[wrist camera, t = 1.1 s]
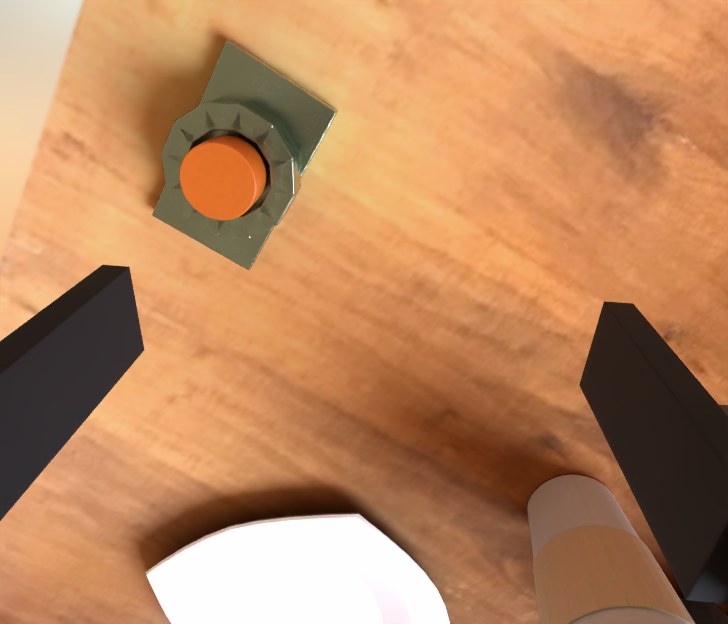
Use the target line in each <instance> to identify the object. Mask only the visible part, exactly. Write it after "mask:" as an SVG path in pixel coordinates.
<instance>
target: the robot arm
mask: <svg viewBox="0 0 728 624" xmlns="http://www.w3.org/2000/svg"><path fill="white" fill-rule="evenodd" d="M143 351H144V346H143V340H142V335H141V329H140V324H139V318H138V313H137V307H136V302H135V296H134V291H133V285H132V279H131V274H130V268H129V267H124V266H110V265H102V266H101V267H99V268H98V269H97V270H95V271H94V272H93V273H91V274H90V275H89V276H87V277H86V278H85V279H83V280H82V281H81V282H79V283H78V284H76V285H75V286H74V287H72V288H71V289H70V290H68V291H67V292H66V293H64V294H63V295H62V296H60V297H59V298H58V299H56V300H55V301H54V302H52V303H51V304H50V305H48V306H47V307H46V308H44V309H43V310H42V311H40V312H39V313H38V314H36V315H35V316H34V317H32V318H31V319H30V320H28V321H27V322H26V323H24V324H23V325H22V326H20V327H19V328H18V329H16V330H15V331H14V332H12V333H11V334H10V335H8V336H7V337H6V338H4V339H3V340H1V341H0V521H1V520H2V518H3V517H4V516H5V515H6V514H7V512H8V511H9V510H10V509H11V508H12V506H13V505H14V504H15V503H16V502H17V501H18V499H19V498H20V497H21V496H22V495H23V493H24V492H25V491H26V490H27V489H28V487H29V486H30V485H31V484H32V483H33V482H34V480H35V479H36V478H37V477H38V476H39V474H40V473H41V472H42V471H43V470H44V468H45V467H46V466H47V465H48V464H49V463H50V461H51V460H52V459H53V458H54V457H55V455H56V454H57V453H58V452H59V451H60V449H61V448H62V447H63V446H64V445H65V444H66V442H67V441H68V440H69V439H70V438H71V436H72V435H73V434H74V433H75V432H76V430H77V429H78V428H79V427H80V426H81V425H82V423H83V422H84V421H85V420H86V419H87V417H88V416H89V415H90V414H91V413H92V411H93V410H94V409H95V408H96V407H97V406H98V404H99V403H100V402H101V401H102V400H103V398H104V397H105V396H106V395H107V394H108V392H109V391H110V390H111V389H112V388H113V387H114V385H115V384H116V383H117V382H118V381H119V379H120V378H121V377H122V376H123V375H124V373H125V372H126V371H127V370H128V369H129V368H130V366H131V365H132V364H133V363H134V362H135V360H136V359H137V358H138V357H139V356H140V354H141V353H142V352H143ZM580 387H581V389H582V391H583V393H584V395H585V397H586V399H587V401H588V403H589V405H590V407H591V409H592V411H593V413H594V415H595V417H596V419H597V421H598V423H599V425H600V427H601V429H602V431H603V433H604V435H605V437H606V440H607V442H608V444H609V446H610V448H611V450H612V452H613V454H614V456H615V458H616V460H617V462H618V464H619V466H620V468H621V470H622V472H623V474H624V476H625V478H626V480H627V482H628V484H629V486H630V488H631V490H632V492H633V494H634V496H635V498H636V500H637V502H638V504H639V506H640V508H641V510H642V512H643V514H644V516H645V518H646V520H647V522H648V524H649V527H650V529H651V531H652V533H653V535H654V537H655V539H656V541H657V543H658V545H659V547H660V549H661V551H662V553H663V555H664V557H665V559H666V561H667V563H668V565H669V567H670V569H671V571H672V573H673V575H674V577H675V579H676V581H677V583H678V585H679V587H680V589H681V591H682V593H683V595H684V597H685V599H686V600H692V601H702V602H712V603H723V604H728V405H718V404H717V402H716V401H715V400H714V399H713V398H712V396H711V395H710V394H709V393H708V392H707V391H706V389H705V388H704V387H703V386H702V385H701V383H700V382H699V381H698V380H697V379H696V378H695V376H694V375H693V374H692V373H691V372H690V370H689V369H688V368H687V367H686V366H685V365H684V363H683V362H682V361H681V360H680V359H679V357H678V356H677V355H676V354H675V353H674V352H673V350H672V349H671V348H670V347H669V346H668V344H667V343H666V342H665V341H664V340H663V339H662V337H661V336H660V335H659V334H658V333H657V331H656V330H655V329H654V328H653V327H652V326H651V324H650V323H649V322H648V321H647V320H646V318H645V317H644V316H643V315H642V314H641V313H640V311H639V310H638V309H637V308H636V307H635V305H634V304H630V303H617V302H604V304H603V307H602V310H601V314H600V317H599V321H598V324H597V327H596V331H595V334H594V338H593V341H592V344H591V348H590V351H589V354H588V358H587V361H586V365H585V368H584V371H583V375H582V378H581V382H580Z"/></svg>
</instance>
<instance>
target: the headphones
mask: <svg viewBox="0 0 728 624" xmlns="http://www.w3.org/2000/svg"><path fill="white" fill-rule="evenodd" d="M680 600H681V602H682V603H683V605H684V606H685V608H686V610H687V611H688V613H689V614H690V616H691V618H692V619H693V621H694V623H695V624H728V616H727V615H726V614H725V613H724V612H723V611H722V610H721V609H720V608H719V607H718V606H716V605H714V604H712V603H710V602H702V601H692V600H686V599H685V598H681V599H680Z"/></svg>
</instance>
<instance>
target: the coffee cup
mask: <svg viewBox="0 0 728 624" xmlns="http://www.w3.org/2000/svg"><path fill="white" fill-rule="evenodd" d="M527 511H528V520H529V528H530V535H531V543H532V551H533V559H534V562H533V566H532V568H533V577H534V585H535V593H536V601H537V608H538V616H539V624H695V623H694V621H693V619H692V618H691V616H690V614H689V613H688V611H687V610H686V608H685V606H684V605H683V603H682V602H681V600H680V598H679V597H678V595H677V593H676V592H675V590H674V589H673V587H672V585H671V584H670V582H669V581H668V579H667V577H666V576H665V574H664V572H663V571H662V569H661V568H660V566H659V564H658V563H657V561H656V560H655V558H654V556H653V555H652V553H651V551H650V550H649V549H648V547H647V546H646V545H645V543H644V542H643V541H641V540H640V538H639V537H638V535H637V534H636V532H635V530H634V529H633V527H632V525H631V524H630V522H629V521H628V519H627V517H626V516H625V514H624V513H623V511H622V509H621V508H620V506H619V504H618V503H617V501H616V500H615V498H614V496H613V495H612V493H611V492H610V491H609V489H608V488H607V487H606V486H605V485H603V484H602V483H601V482H599V481H597V480H595V479H592V478H590V477H587V476H582V475H562V476H558V477H555V478H553V479H551V480H548V481H547V482H545V483H544V484H542V485H541V486H540V487H539V488H537V489H536V490H535V492H534V493H533V494H532V496H531V497H530V499H529V502H528V506H527Z"/></svg>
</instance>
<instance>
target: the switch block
mask: <svg viewBox="0 0 728 624" xmlns="http://www.w3.org/2000/svg"><path fill="white" fill-rule="evenodd" d="M336 114H337V110H336V109H334V108H333V107H331V106H329V105H328V104H326V103H325V102H323V101H322V100H320V99H319V98H317V97H316V96H314V95H313V94H311V93H310V92H308V91H307V90H305V89H304V88H302V87H301V86H299V85H298V84H296V83H294V82H293V81H291V80H290V79H288V78H287V77H285V76H284V75H282V74H281V73H279V72H278V71H276V70H275V69H273V68H272V67H270V66H269V65H267V64H266V63H264V62H263V61H261V60H259V59H258V58H256V57H255V56H253V55H252V54H250V53H249V52H247V51H246V50H244V49H243V48H241V47H240V46H238V45H237V44H235V43H234V42H232V41H226V42H225V45H224V47H223V49H222V52H221V54H220V56H219V59H218V61H217V64H216V66H215V68H214V71H213V73H212V75H211V78H210V80H209V82H208V85H207V87H206V89H205V92H204V94H203V96H202V99H201V101H200V103H199V106H197V107H196V108H194V109H193V110H191V111H190V112H188V113H186V114H185V115H183V116H182V117H180V118H179V119H177V120H175V122H174V123H173V126H172V128H171V131H170V133H169V135H168V138H167V140H166V143H165V145H164V148H163V150H162V154H161V157H162V164H163V171H164V177H165V186H164V188H163V190H162V193H161V195H160V197H159V200H158V202H157V205H156V207H155V209H154V212H153V214H152V215H153V216H154V217H156V218H158V219H160V220H161V221H163V222H165V223H167V224H168V225H170V226H172V227H174V228H175V229H177V230H179V231H181V232H182V233H184V234H186V235H188V236H189V237H191V238H193V239H195V240H197V241H198V242H200V243H202V244H204V245H205V246H207V247H209V248H211V249H212V250H214V251H216V252H218V253H219V254H221V255H223V256H225V257H226V258H228V259H230V260H232V261H233V262H235V263H237V264H239V265H240V266H242V267H244V268H246V269H247V270H250V268H251V267H252V265H253V264H254V262H255V260H256V258H257V256H258V255H259V253H260V251H261V249H262V247H263V246H264V244H265V242H266V240H267V238H268V237H269V235H270V233H271V231H272V229H273V228H274V226H276V225H278V223H280V221H281V220H282V219H283V217H284V216H285V214H286V213H287V211H288V209H289V207H290V206H291V204H292V202H293V200H294V198H295V197H296V195H297V193H298V191H299V189H300V186H301V177H302V175H303V173H304V172H305V170H306V168H307V166H308V164H309V163H310V161H311V159H312V157H313V155H314V154H315V152H316V150H317V148H318V146H319V145H320V143H321V141H322V139H323V137H324V135H325V134H326V132H327V130H328V128H329V126H330V125H331V123H332V121H333V119H334V117H335V116H336ZM221 135H229V136H235V137H238V138H241V139H243V140H244V141H246V142H248V143H249V144H250V145H251V146H253V147H254V148H255V150H256V151H257V152H258V153H259V155H260V156H261V158H262V160H263V163H264V165H265V169H266V185H265V188H264V191H263V193H262V195H261V196H260V197H259V199H258V200H257V201H256V202H255V203H254V204H253V205H252V206H251V207H250V208H249V209H248V210H247V211H246V212H245V213H244V214H243V215H241V216H239V217H237V218H234V219H231V220H216V219H212V218H209V217H207V216H205V215H203V214H201V213H200V212H198V211H197V210H196V209H195V208H194V207H193V206H192V205H191V204H190V203H189V202H188V200H187V199H186V197H185V195H184V193H183V191H182V188H181V184H180V177H179V174H180V167H181V163H182V161H183V159H184V157H185V155H186V154H187V153H188V152H189V151H190V150H191V149H192V148H194V147H195V146H197V145H199V144H201V143H203V142H205V141H207V140H209V139H211V138H213V137H216V136H221Z"/></svg>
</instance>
